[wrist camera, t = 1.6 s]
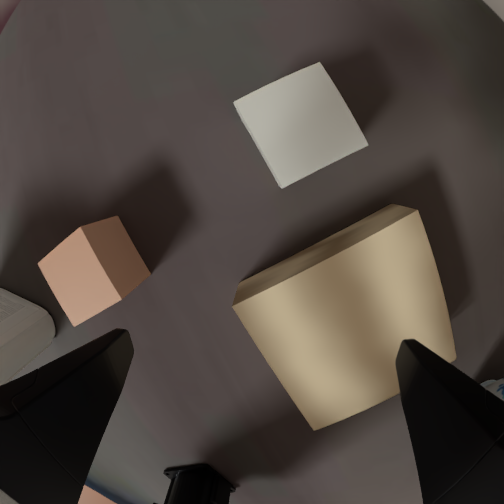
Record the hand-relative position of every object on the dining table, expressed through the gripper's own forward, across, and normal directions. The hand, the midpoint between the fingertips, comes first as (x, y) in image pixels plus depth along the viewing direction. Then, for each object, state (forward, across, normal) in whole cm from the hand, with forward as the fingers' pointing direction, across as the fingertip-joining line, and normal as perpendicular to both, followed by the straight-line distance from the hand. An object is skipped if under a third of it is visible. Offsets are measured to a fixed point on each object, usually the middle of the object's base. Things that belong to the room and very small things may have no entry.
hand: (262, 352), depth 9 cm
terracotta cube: (+11, +12, +2) cm, 17 cm away
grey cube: (+13, -1, -6) cm, 14 cm away
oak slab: (+11, -6, +6) cm, 14 cm away
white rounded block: (+10, +25, +8) cm, 28 cm away
